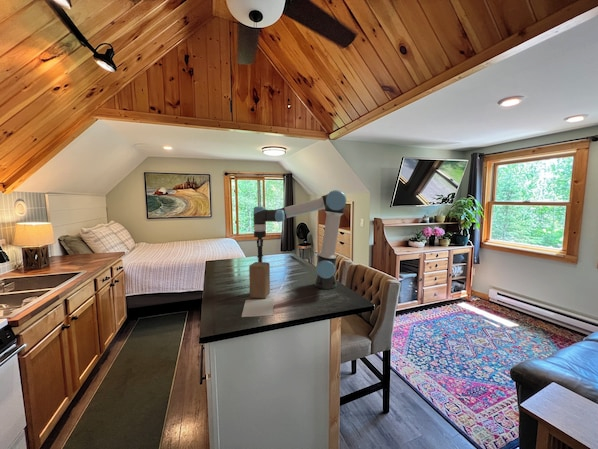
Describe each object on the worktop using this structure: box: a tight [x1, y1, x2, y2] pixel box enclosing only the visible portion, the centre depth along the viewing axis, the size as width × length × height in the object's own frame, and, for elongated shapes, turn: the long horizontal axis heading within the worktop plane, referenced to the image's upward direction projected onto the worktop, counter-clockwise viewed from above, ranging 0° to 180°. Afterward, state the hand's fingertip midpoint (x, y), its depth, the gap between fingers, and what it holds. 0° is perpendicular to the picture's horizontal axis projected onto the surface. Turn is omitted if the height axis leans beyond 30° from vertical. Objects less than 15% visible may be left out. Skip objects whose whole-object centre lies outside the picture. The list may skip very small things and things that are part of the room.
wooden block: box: [248, 261, 271, 299], centre depth 152 cm, size 10×10×20 cm
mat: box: [241, 298, 274, 318], centre depth 136 cm, size 16×21×1 cm
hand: (260, 266), depth 162 cm, fingers closed
